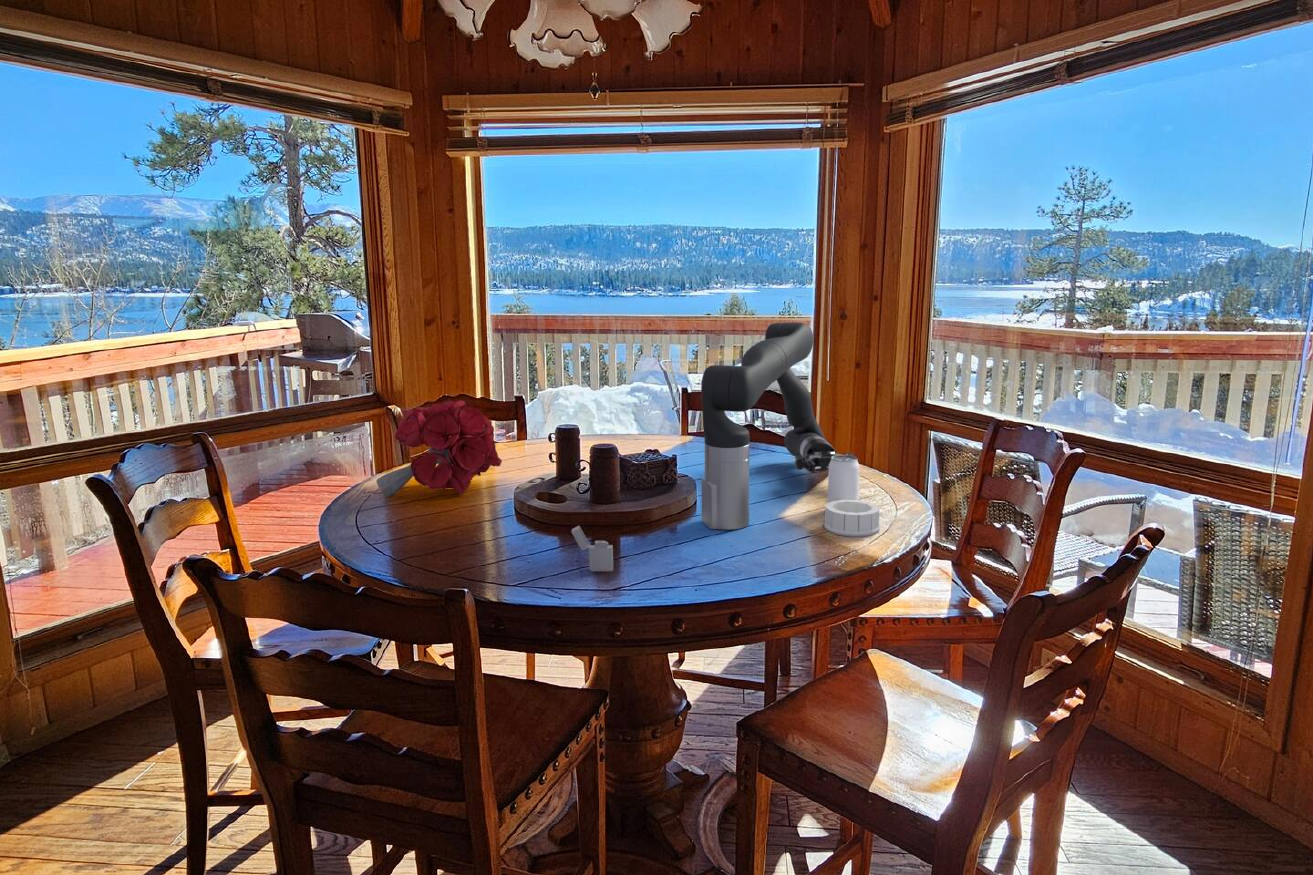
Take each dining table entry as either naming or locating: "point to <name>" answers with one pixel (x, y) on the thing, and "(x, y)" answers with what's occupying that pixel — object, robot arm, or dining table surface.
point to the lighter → (595, 552)
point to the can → (843, 478)
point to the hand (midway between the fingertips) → (832, 468)
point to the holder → (851, 518)
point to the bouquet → (444, 447)
